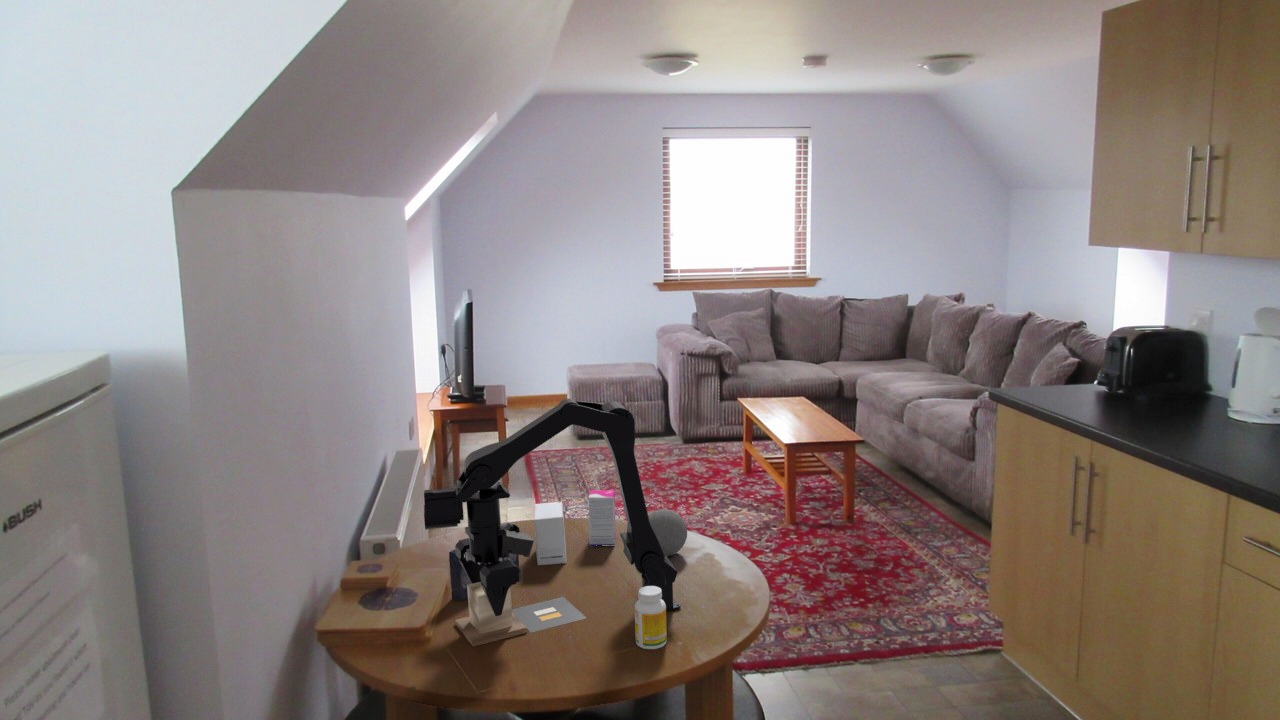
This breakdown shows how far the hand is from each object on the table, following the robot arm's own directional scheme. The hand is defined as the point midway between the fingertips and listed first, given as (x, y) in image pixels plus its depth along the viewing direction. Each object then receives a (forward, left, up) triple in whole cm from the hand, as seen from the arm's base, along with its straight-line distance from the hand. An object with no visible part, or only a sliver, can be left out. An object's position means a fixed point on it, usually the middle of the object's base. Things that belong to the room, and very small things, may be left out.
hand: (489, 605), depth 163 cm
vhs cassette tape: (+20, -6, -5) cm, 21 cm away
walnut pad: (0, 0, -4) cm, 4 cm away
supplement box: (+28, -36, -5) cm, 46 cm away
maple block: (0, 0, -3) cm, 3 cm away
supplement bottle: (-20, -22, -5) cm, 30 cm away
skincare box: (+27, -23, -5) cm, 36 cm away
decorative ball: (+14, -44, -5) cm, 46 cm away
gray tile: (0, -11, -4) cm, 12 cm away
